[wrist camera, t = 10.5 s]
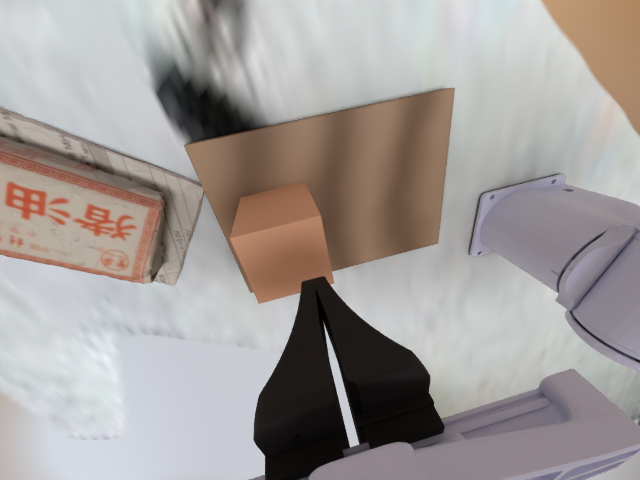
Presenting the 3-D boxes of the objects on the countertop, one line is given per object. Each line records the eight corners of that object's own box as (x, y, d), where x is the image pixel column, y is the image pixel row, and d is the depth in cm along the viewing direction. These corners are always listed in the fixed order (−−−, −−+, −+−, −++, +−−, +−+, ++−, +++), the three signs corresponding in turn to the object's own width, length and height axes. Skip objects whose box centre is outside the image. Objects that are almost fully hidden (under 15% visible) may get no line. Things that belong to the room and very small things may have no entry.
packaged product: (-235, 246, 12) (-353, 19, 8) (-108, 209, 16) (-150, 47, 13) (162, 313, 19) (194, 204, 15) (181, 276, 23) (209, 182, 19)
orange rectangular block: (304, 182, 19) (320, 215, 13) (316, 236, 22) (334, 283, 16) (240, 197, 19) (229, 238, 13) (260, 250, 21) (259, 303, 16)
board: (444, 88, 19) (454, 87, 18) (431, 237, 26) (437, 243, 25) (188, 143, 17) (183, 145, 16) (251, 284, 25) (250, 292, 24)
